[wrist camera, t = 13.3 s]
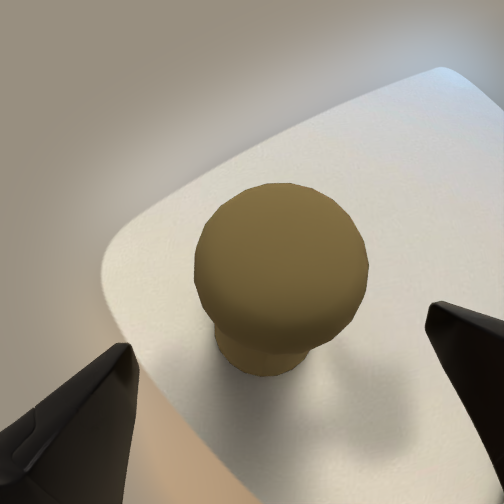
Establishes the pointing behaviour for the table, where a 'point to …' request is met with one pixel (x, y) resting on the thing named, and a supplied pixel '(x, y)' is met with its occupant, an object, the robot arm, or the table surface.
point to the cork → (279, 275)
